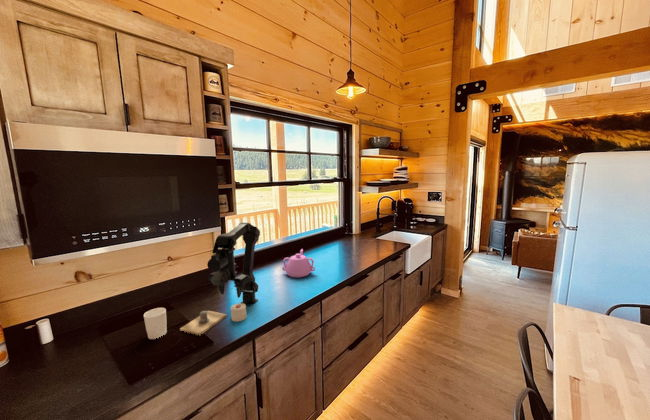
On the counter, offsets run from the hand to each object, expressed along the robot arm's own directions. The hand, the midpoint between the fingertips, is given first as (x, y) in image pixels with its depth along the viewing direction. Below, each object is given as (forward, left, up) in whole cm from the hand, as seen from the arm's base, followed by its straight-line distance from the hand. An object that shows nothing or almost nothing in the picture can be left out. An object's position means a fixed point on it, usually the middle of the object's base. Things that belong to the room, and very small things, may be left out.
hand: (230, 295), depth 119 cm
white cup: (+19, -23, -12) cm, 32 cm away
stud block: (+6, -11, -12) cm, 17 cm away
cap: (-3, +1, -12) cm, 13 cm away
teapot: (-62, +4, -12) cm, 63 cm away
